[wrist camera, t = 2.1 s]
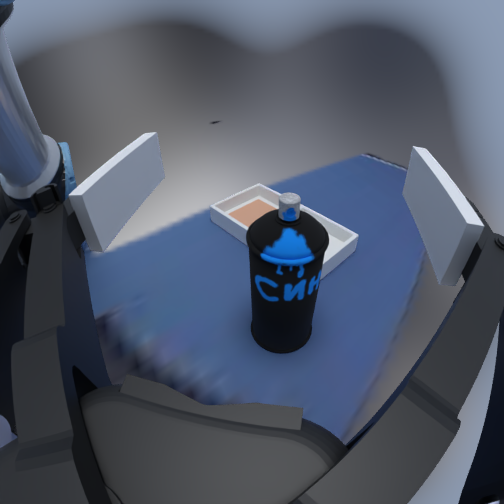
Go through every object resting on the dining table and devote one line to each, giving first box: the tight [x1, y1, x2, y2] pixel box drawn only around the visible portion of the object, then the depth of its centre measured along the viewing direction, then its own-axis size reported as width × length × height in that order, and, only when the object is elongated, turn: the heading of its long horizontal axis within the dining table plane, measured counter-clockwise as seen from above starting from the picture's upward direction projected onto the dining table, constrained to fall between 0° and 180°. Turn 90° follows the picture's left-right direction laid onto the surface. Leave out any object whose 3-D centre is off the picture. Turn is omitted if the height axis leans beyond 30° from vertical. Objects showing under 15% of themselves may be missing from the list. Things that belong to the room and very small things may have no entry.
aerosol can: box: [246, 193, 329, 353], centre depth 33 cm, size 8×8×20 cm
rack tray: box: [210, 183, 359, 280], centre depth 54 cm, size 25×13×4 cm, turn 42°
